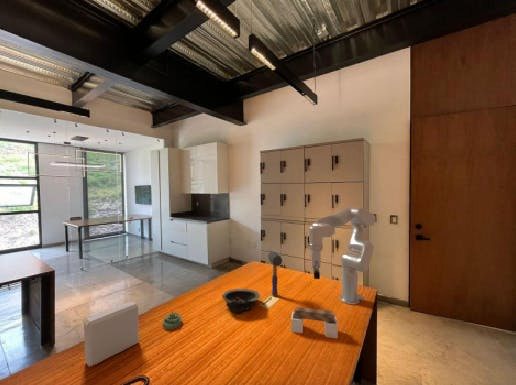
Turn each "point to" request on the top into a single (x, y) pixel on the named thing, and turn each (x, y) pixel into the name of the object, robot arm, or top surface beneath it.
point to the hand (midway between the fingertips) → (316, 275)
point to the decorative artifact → (172, 321)
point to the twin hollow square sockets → (330, 328)
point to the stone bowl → (240, 299)
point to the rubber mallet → (274, 270)
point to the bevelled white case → (110, 332)
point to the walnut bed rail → (314, 314)
